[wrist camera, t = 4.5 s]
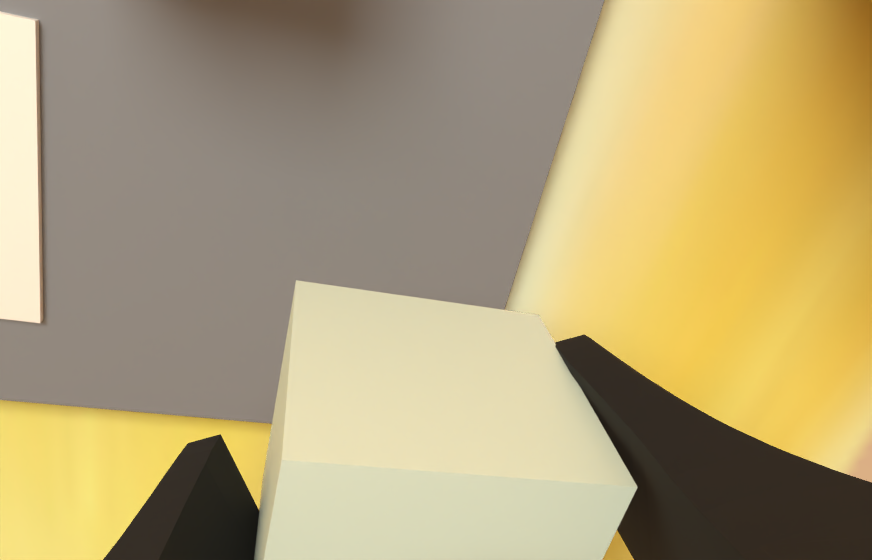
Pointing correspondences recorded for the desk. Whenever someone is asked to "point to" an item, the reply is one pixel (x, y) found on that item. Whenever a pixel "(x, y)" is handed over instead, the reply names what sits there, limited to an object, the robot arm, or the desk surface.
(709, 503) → the robot arm
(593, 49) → the desk surface
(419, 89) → the plate
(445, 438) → the sage brick
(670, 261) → the desk surface
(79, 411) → the desk surface
